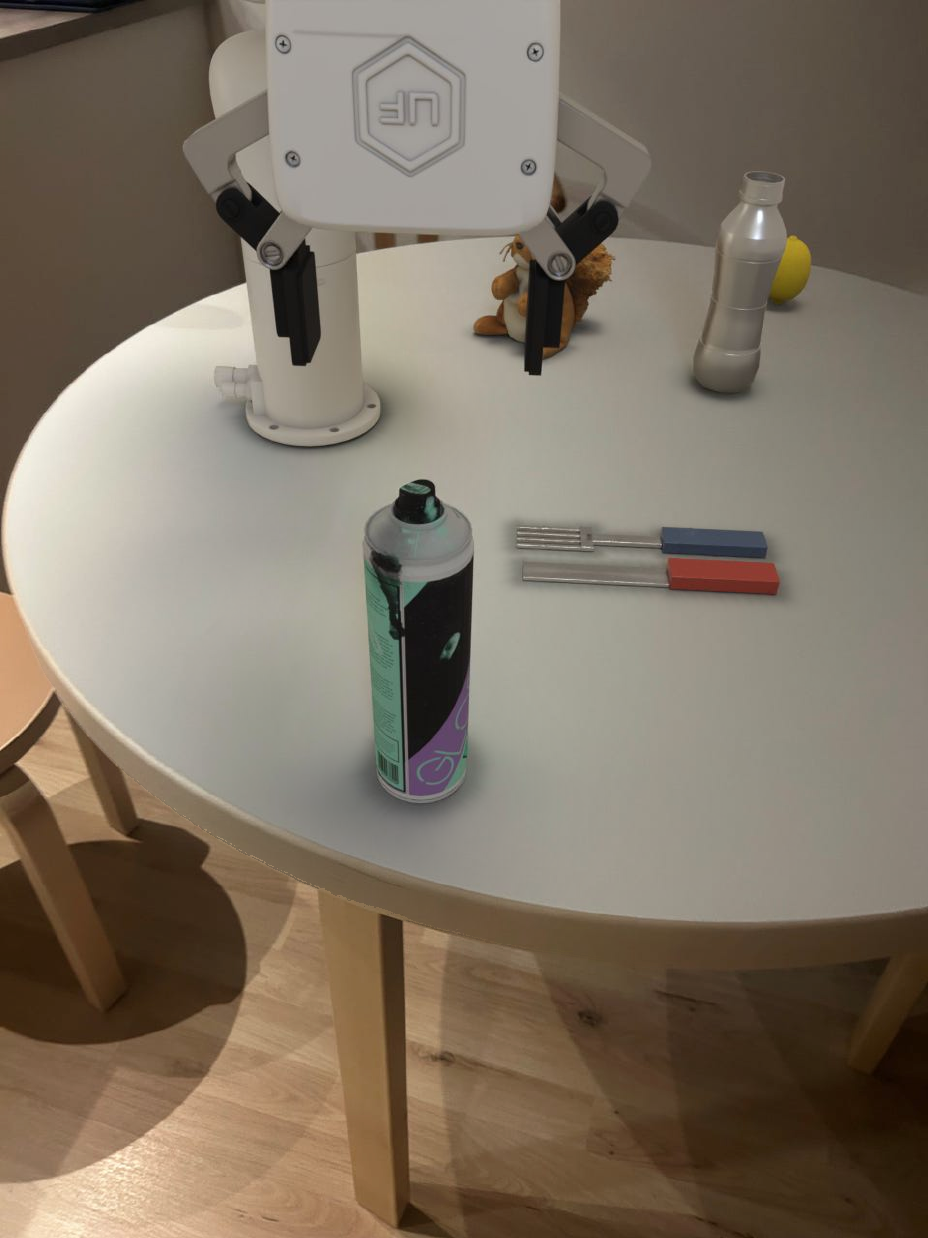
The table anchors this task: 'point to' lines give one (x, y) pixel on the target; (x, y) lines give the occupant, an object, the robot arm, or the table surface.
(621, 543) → the fork
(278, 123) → the robot arm
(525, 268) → the stuffed squirrel
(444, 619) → the spray can
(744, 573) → the knife
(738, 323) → the plastic bottle
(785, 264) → the lemon
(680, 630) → the table surface
